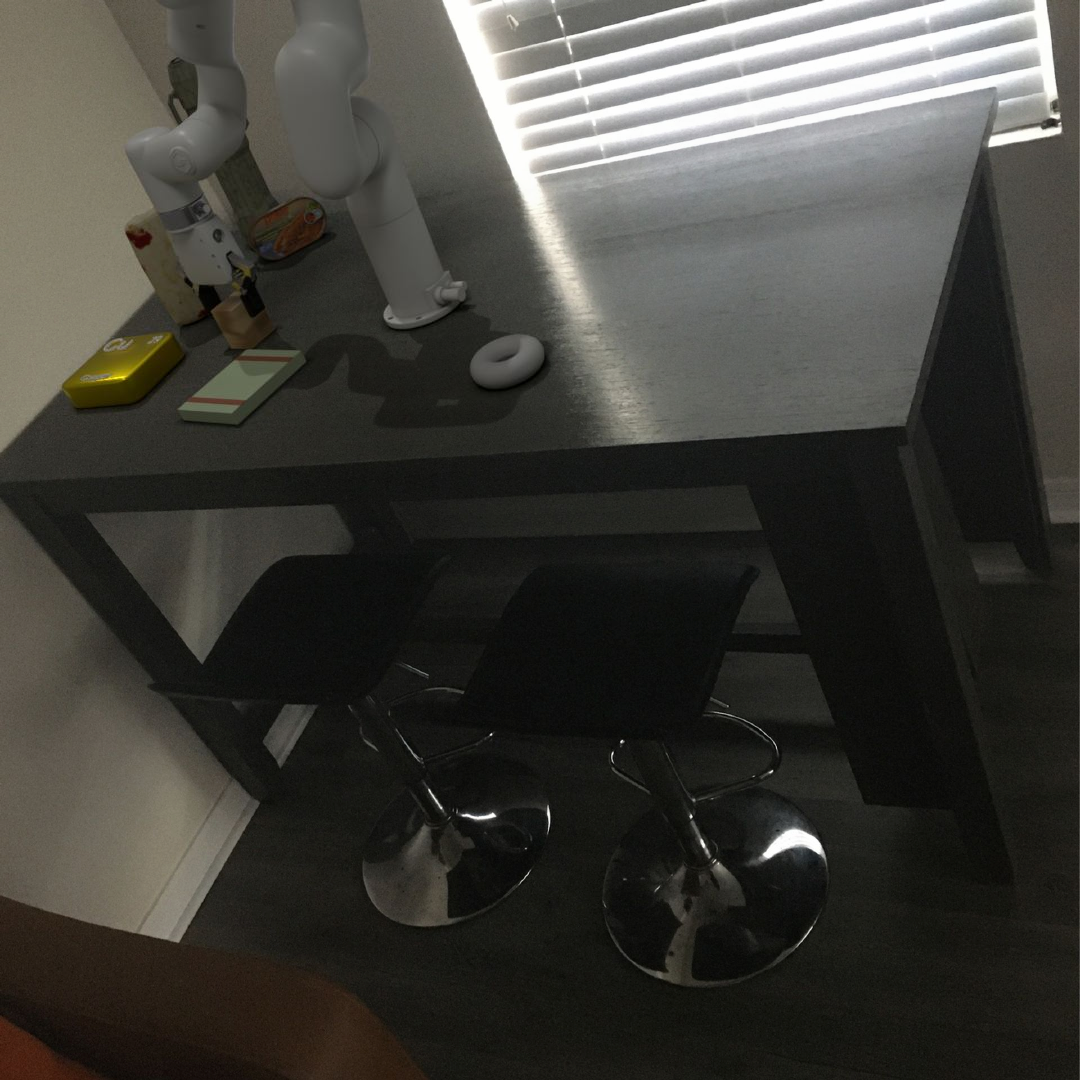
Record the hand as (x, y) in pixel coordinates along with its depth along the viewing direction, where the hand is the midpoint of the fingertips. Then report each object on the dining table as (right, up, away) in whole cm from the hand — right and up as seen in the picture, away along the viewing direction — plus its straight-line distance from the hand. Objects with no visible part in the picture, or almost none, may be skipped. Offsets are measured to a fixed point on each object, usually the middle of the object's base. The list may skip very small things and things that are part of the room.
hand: (237, 312), depth 172 cm
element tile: (-19, -10, +5) cm, 22 cm away
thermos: (-5, +23, +40) cm, 46 cm away
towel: (+5, -14, -12) cm, 19 cm away
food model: (-11, +3, +18) cm, 22 cm away
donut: (+45, -15, -32) cm, 57 cm away
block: (+2, -4, +3) cm, 5 cm away
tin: (+3, +18, +30) cm, 36 cm away
